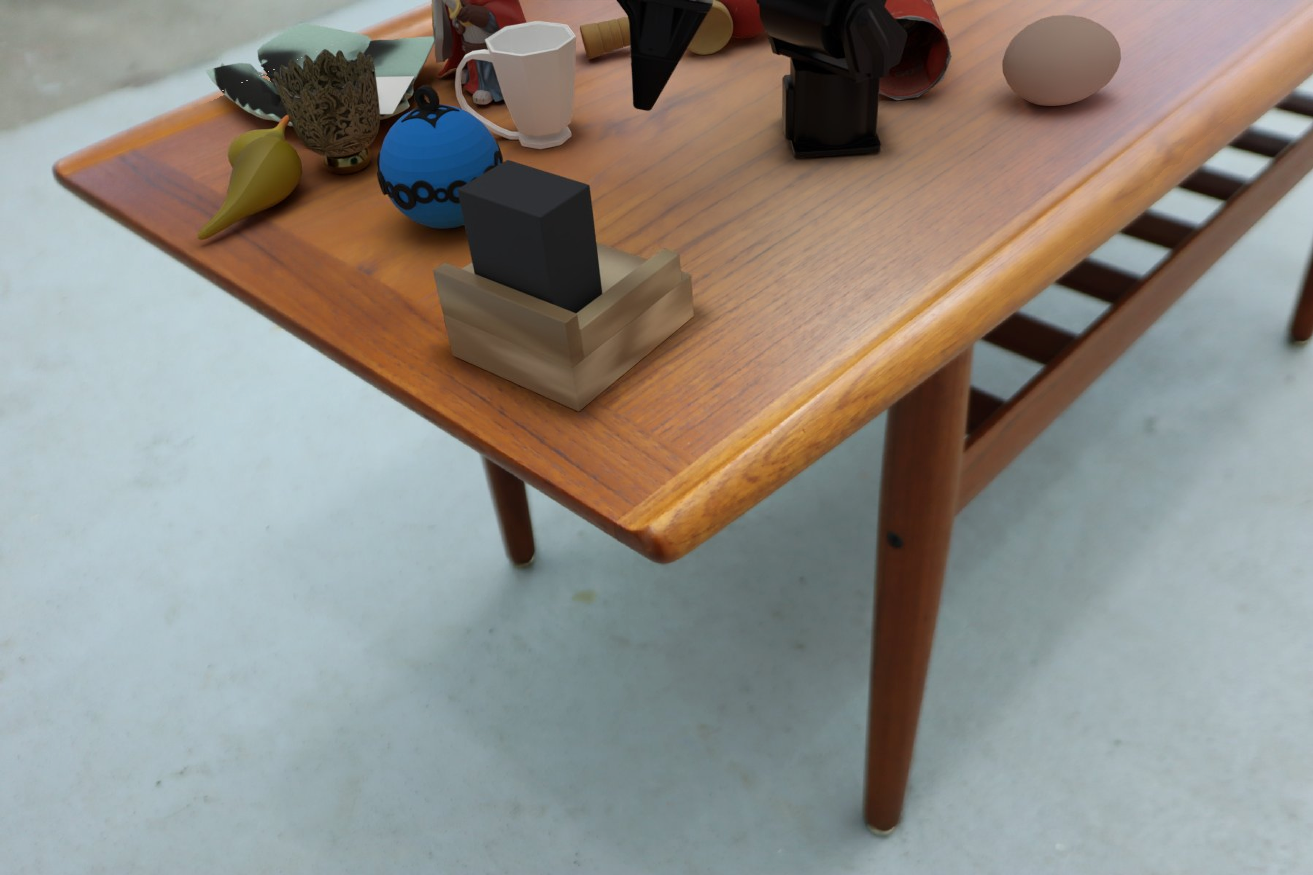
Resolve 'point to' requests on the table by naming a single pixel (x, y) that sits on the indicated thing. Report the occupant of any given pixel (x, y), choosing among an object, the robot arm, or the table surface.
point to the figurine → (472, 39)
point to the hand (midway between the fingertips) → (646, 94)
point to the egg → (1060, 60)
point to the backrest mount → (567, 325)
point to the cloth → (308, 39)
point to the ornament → (434, 160)
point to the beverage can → (917, 50)
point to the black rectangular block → (533, 234)
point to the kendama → (725, 19)
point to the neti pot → (256, 176)
